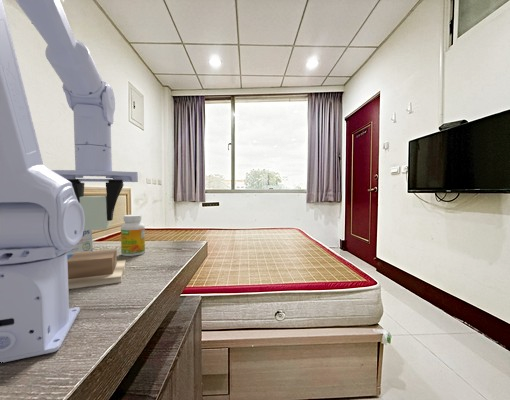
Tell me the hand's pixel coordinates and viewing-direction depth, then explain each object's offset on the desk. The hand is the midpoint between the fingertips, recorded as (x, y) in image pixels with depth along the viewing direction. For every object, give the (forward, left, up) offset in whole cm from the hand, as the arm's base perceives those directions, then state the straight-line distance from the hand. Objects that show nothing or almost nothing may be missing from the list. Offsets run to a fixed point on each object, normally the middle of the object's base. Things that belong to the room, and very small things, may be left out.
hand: (95, 220), depth 47 cm
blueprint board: (0, +1, -10) cm, 10 cm away
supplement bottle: (+15, -5, -11) cm, 19 cm away
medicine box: (+15, +8, -11) cm, 20 cm away
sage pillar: (0, 0, -1) cm, 1 cm away
